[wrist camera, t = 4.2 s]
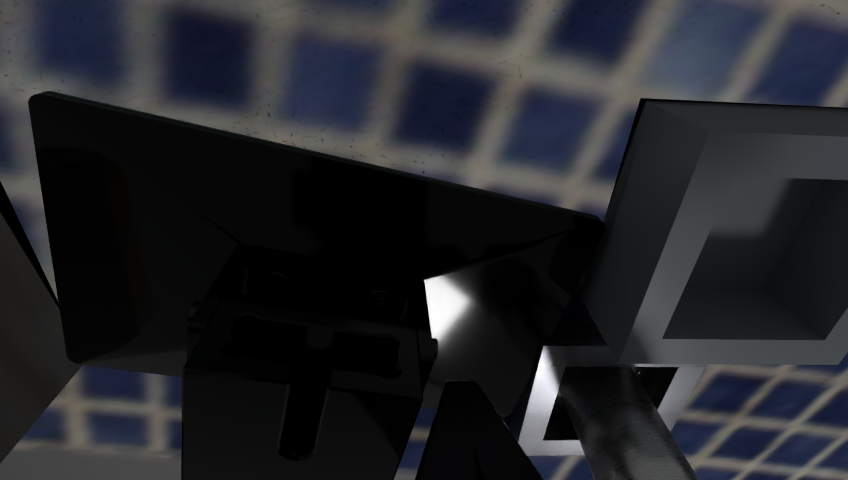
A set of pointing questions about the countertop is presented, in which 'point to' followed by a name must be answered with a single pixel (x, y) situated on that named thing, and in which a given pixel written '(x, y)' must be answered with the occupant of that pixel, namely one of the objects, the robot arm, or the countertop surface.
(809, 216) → the tray
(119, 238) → the build plate
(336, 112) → the countertop surface
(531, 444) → the pin socket
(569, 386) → the pin
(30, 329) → the rail
